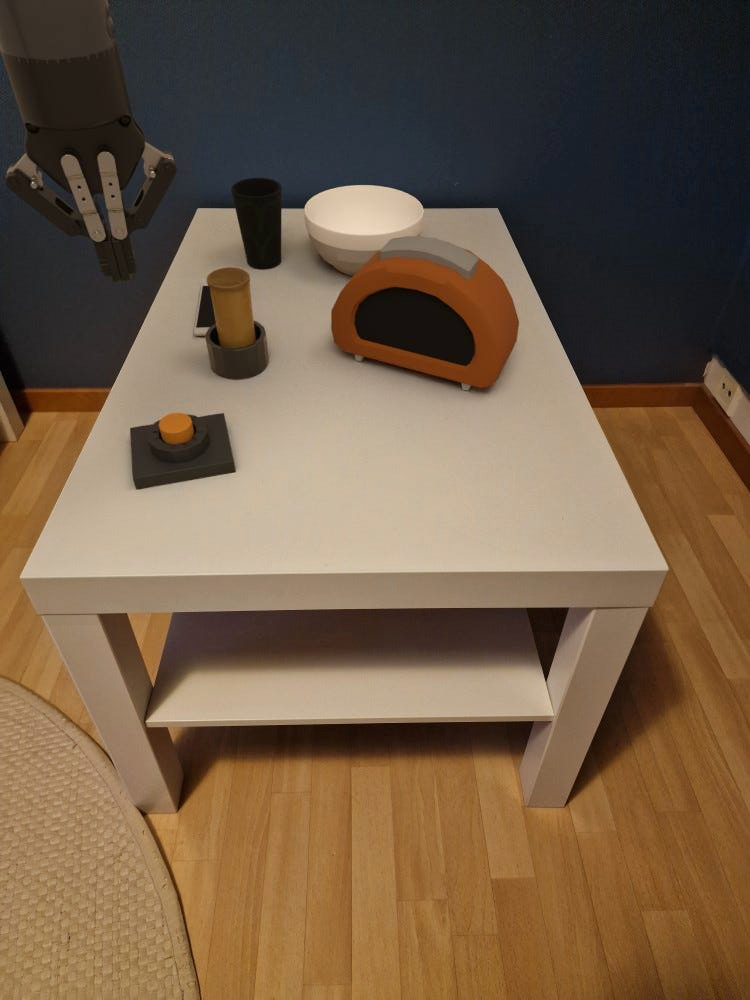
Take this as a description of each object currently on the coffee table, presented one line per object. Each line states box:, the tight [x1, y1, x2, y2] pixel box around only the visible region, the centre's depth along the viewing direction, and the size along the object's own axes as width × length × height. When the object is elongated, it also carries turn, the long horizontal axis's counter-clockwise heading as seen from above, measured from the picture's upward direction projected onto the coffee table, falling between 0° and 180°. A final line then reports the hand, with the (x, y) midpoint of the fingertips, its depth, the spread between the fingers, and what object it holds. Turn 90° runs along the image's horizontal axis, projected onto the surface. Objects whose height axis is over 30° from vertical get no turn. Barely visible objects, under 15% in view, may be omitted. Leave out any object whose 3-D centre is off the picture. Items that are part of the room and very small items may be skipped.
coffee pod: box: [206, 266, 256, 348], centre depth 89 cm, size 5×5×12 cm
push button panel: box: [129, 412, 236, 490], centre depth 79 cm, size 11×9×4 cm
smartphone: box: [193, 281, 251, 337], centre depth 103 cm, size 8×1×15 cm
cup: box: [230, 177, 283, 270], centre depth 109 cm, size 8×8×12 cm
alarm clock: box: [330, 235, 520, 391], centre depth 88 cm, size 23×9×17 cm, turn 66°
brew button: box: [159, 412, 194, 444], centre depth 77 cm, size 4×4×2 cm
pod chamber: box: [204, 320, 270, 380], centre depth 92 cm, size 8×8×4 cm
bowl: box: [303, 184, 425, 277], centre depth 111 cm, size 19×19×9 cm
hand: (121, 277), depth 59 cm, fingers closed
